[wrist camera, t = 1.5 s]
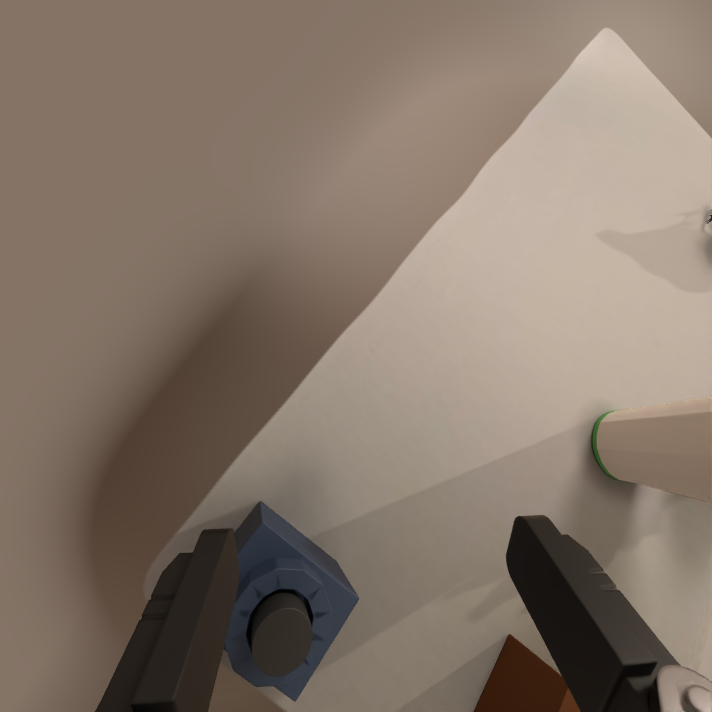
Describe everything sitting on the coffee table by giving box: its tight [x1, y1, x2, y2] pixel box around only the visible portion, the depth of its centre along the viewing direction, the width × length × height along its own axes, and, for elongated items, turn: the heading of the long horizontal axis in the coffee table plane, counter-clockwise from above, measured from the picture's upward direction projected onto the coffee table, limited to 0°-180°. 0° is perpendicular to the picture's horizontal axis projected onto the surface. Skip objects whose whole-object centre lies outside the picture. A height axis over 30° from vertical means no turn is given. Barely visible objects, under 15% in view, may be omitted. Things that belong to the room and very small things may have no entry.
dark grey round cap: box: [252, 592, 313, 677], centre depth 20 cm, size 3×3×2 cm
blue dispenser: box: [223, 501, 359, 701], centre depth 25 cm, size 9×7×9 cm
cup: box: [592, 397, 712, 503], centre depth 36 cm, size 12×12×15 cm
